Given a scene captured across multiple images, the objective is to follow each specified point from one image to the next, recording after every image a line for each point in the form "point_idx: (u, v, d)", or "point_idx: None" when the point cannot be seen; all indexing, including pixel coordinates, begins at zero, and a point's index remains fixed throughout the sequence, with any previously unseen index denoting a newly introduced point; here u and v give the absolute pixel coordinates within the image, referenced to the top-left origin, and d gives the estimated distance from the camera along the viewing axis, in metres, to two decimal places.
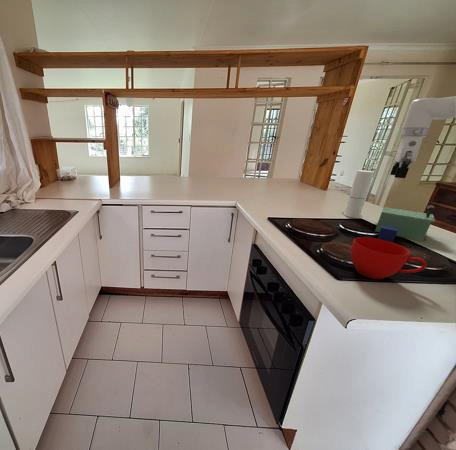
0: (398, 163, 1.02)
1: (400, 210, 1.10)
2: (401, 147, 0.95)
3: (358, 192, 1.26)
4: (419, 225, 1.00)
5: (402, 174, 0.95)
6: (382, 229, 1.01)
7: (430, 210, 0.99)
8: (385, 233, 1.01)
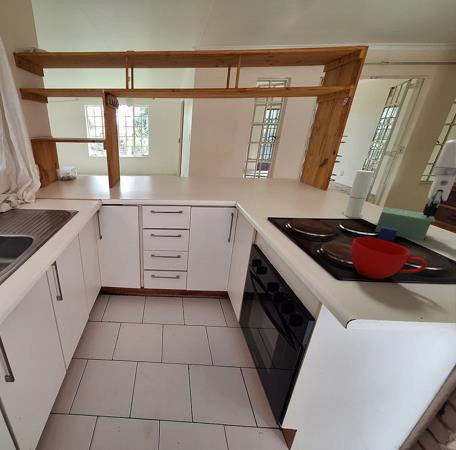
0: None
1: (400, 210, 1.10)
2: (433, 185, 0.97)
3: (358, 192, 1.26)
4: (419, 225, 1.00)
5: (431, 213, 0.99)
6: (382, 229, 1.01)
7: None
8: (385, 233, 1.01)
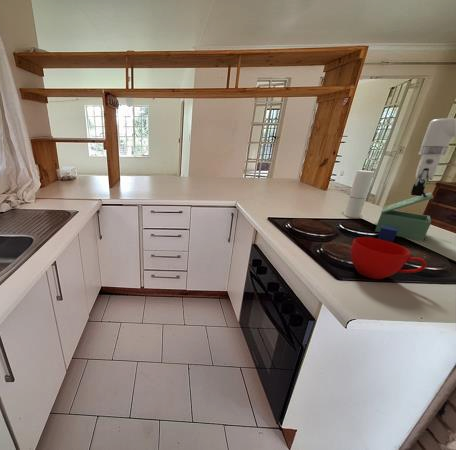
0: None
1: (399, 202, 1.10)
2: (419, 164, 0.98)
3: (358, 192, 1.26)
4: (419, 225, 1.00)
5: (418, 192, 1.00)
6: (382, 229, 1.01)
7: None
8: (385, 233, 1.01)
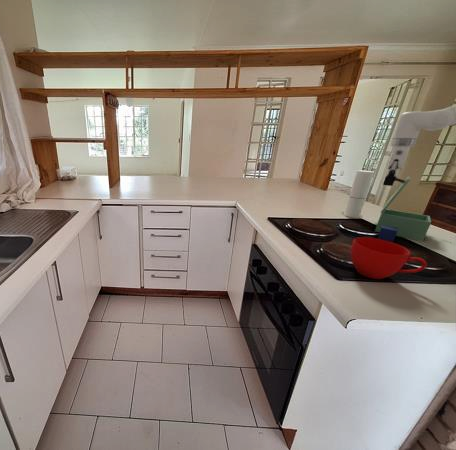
0: None
1: (391, 197, 1.12)
2: None
3: (358, 192, 1.26)
4: (419, 225, 1.00)
5: (389, 182, 1.05)
6: (382, 229, 1.01)
7: (395, 179, 1.05)
8: (385, 233, 1.01)
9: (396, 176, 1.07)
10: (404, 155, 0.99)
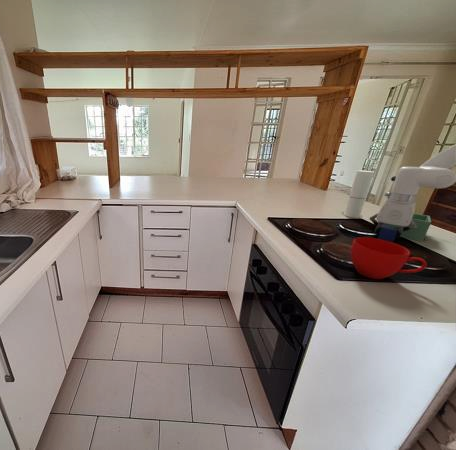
0: None
1: None
2: None
3: (358, 192, 1.26)
4: (419, 225, 1.00)
5: (375, 232, 1.05)
6: (382, 229, 1.01)
7: None
8: (385, 233, 1.01)
9: None
10: (381, 207, 1.00)
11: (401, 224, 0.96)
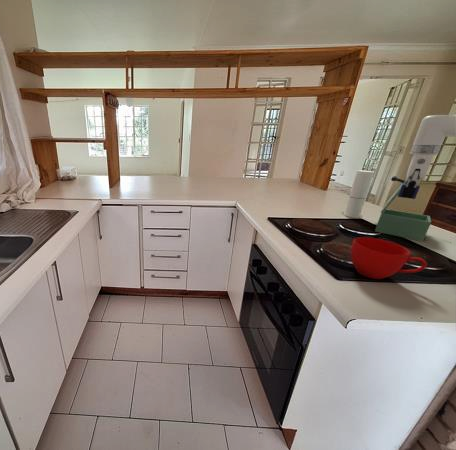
0: None
1: (391, 197, 1.12)
2: (410, 164, 0.92)
3: (358, 192, 1.26)
4: (419, 225, 1.00)
5: (408, 194, 0.94)
6: None
7: (395, 179, 1.05)
8: (417, 191, 0.94)
9: (396, 176, 1.07)
10: (427, 164, 0.88)
11: None
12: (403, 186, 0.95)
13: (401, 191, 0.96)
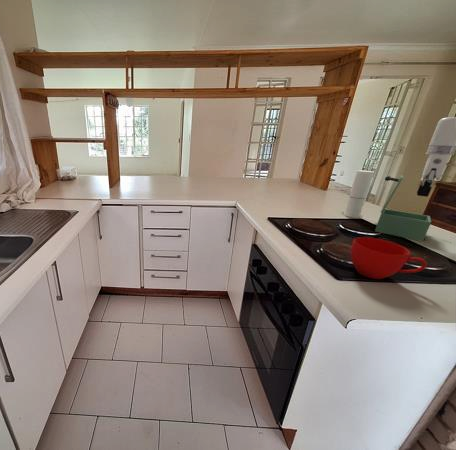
0: None
1: None
2: (426, 164, 0.96)
3: (358, 192, 1.26)
4: (419, 225, 1.00)
5: (424, 192, 0.98)
6: None
7: (389, 179, 1.06)
8: None
9: (389, 176, 1.09)
10: (443, 164, 0.92)
11: None
12: None
13: None
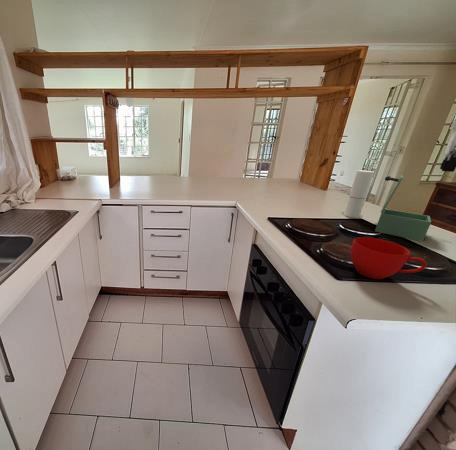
0: (449, 157, 0.98)
1: None
2: (451, 139, 0.92)
3: (358, 192, 1.26)
4: (419, 225, 1.00)
5: (450, 167, 0.92)
6: None
7: (389, 179, 1.06)
8: None
9: (389, 176, 1.09)
10: None
11: None
12: None
13: None
